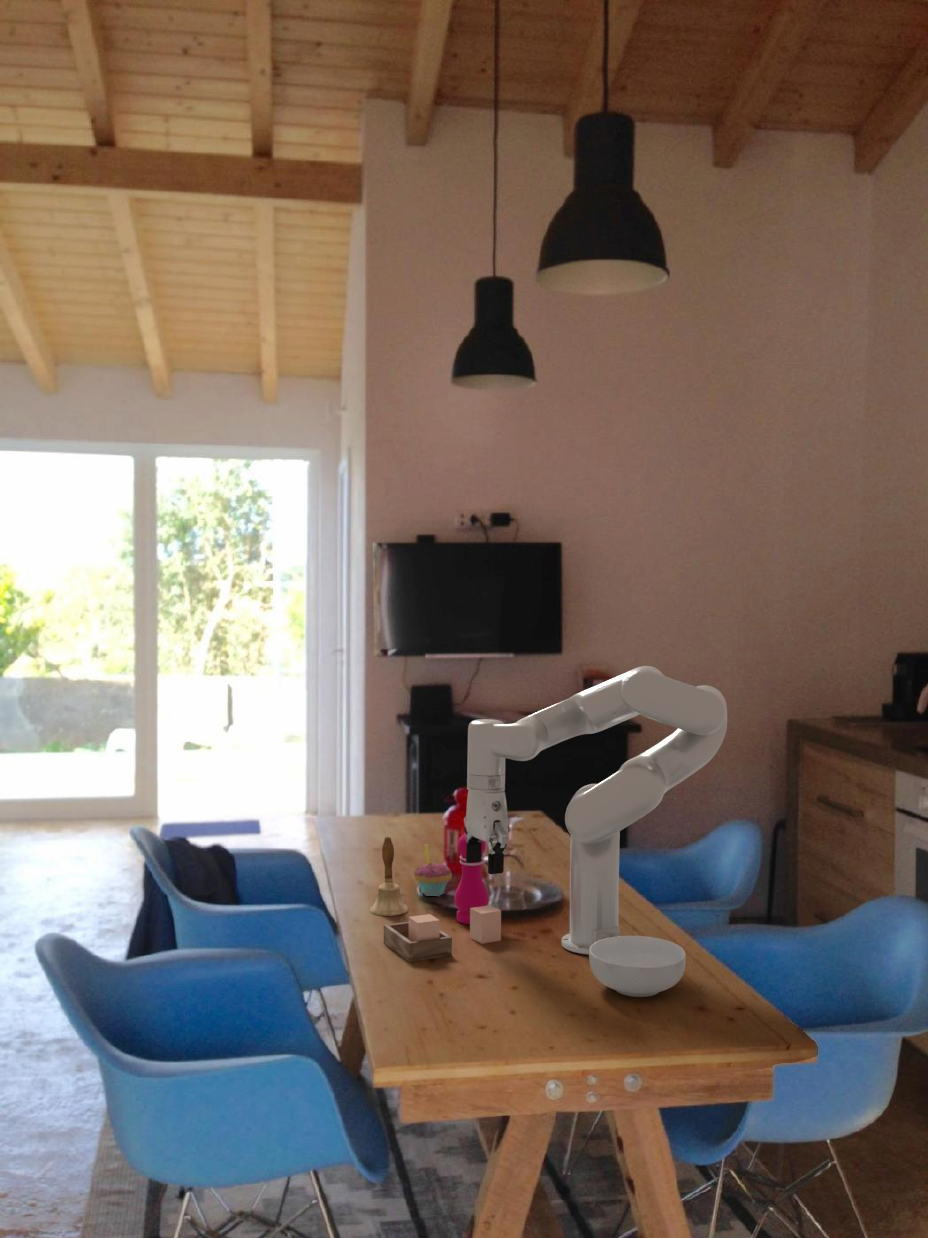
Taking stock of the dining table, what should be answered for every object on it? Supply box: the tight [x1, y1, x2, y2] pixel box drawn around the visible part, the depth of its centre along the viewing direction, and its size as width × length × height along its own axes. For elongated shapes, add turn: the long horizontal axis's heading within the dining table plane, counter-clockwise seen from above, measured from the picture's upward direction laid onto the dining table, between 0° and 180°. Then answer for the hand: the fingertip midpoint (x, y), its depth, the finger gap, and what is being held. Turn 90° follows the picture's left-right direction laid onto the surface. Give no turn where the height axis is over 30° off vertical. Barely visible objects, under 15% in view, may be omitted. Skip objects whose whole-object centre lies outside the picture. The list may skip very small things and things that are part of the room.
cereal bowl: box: [588, 935, 687, 998], centre depth 210 cm, size 17×17×7 cm
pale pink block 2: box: [469, 904, 502, 945], centre depth 239 cm, size 4×4×6 cm
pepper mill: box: [454, 833, 490, 925], centre depth 251 cm, size 7×7×20 cm
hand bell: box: [369, 836, 409, 917], centre depth 258 cm, size 8×8×16 cm
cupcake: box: [413, 840, 453, 896], centre depth 272 cm, size 9×8×12 cm
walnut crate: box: [383, 921, 453, 963], centre depth 232 cm, size 13×9×4 cm
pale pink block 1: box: [408, 913, 440, 942], centre depth 229 cm, size 4×4×6 cm
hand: (484, 867), depth 238 cm, fingers open, 9 cm apart
